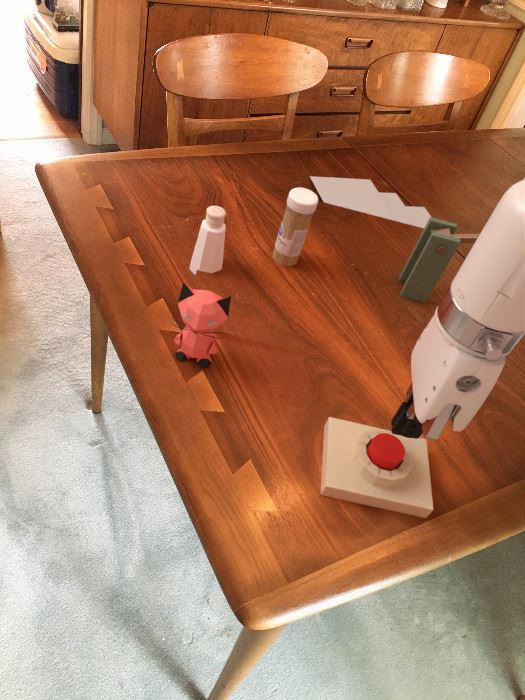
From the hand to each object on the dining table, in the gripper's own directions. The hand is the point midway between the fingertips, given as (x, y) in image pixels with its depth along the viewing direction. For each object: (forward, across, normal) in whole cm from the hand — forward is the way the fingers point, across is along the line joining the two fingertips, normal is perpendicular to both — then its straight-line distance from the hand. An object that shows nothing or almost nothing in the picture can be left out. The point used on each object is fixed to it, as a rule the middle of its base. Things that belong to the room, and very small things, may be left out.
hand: (404, 430), depth 63 cm
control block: (+9, 0, +1) cm, 9 cm away
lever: (-3, +36, -12) cm, 38 cm away
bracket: (+9, +36, -6) cm, 37 cm away
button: (+5, 0, +1) cm, 5 cm away
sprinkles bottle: (+9, +36, +16) cm, 40 cm away
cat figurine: (+9, +12, +26) cm, 29 cm away
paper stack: (+9, +58, -2) cm, 59 cm away
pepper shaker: (+9, +30, +28) cm, 41 cm away
